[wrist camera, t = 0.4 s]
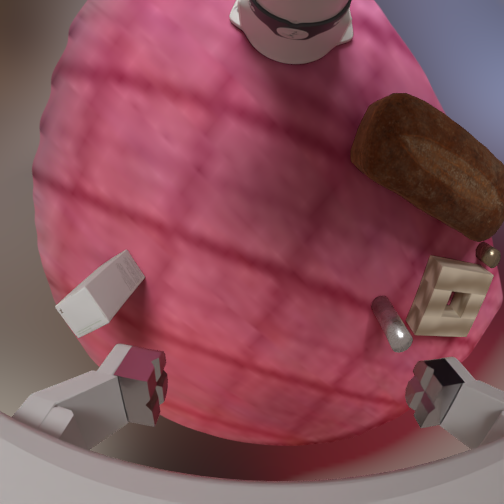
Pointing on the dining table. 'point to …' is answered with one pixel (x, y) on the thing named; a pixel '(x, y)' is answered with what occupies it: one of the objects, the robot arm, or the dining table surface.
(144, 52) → the dining table surface
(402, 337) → the tall steel pin
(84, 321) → the skincare box
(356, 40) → the dining table surface
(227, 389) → the dining table surface
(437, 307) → the birch block
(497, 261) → the short bronze pin
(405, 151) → the bread
